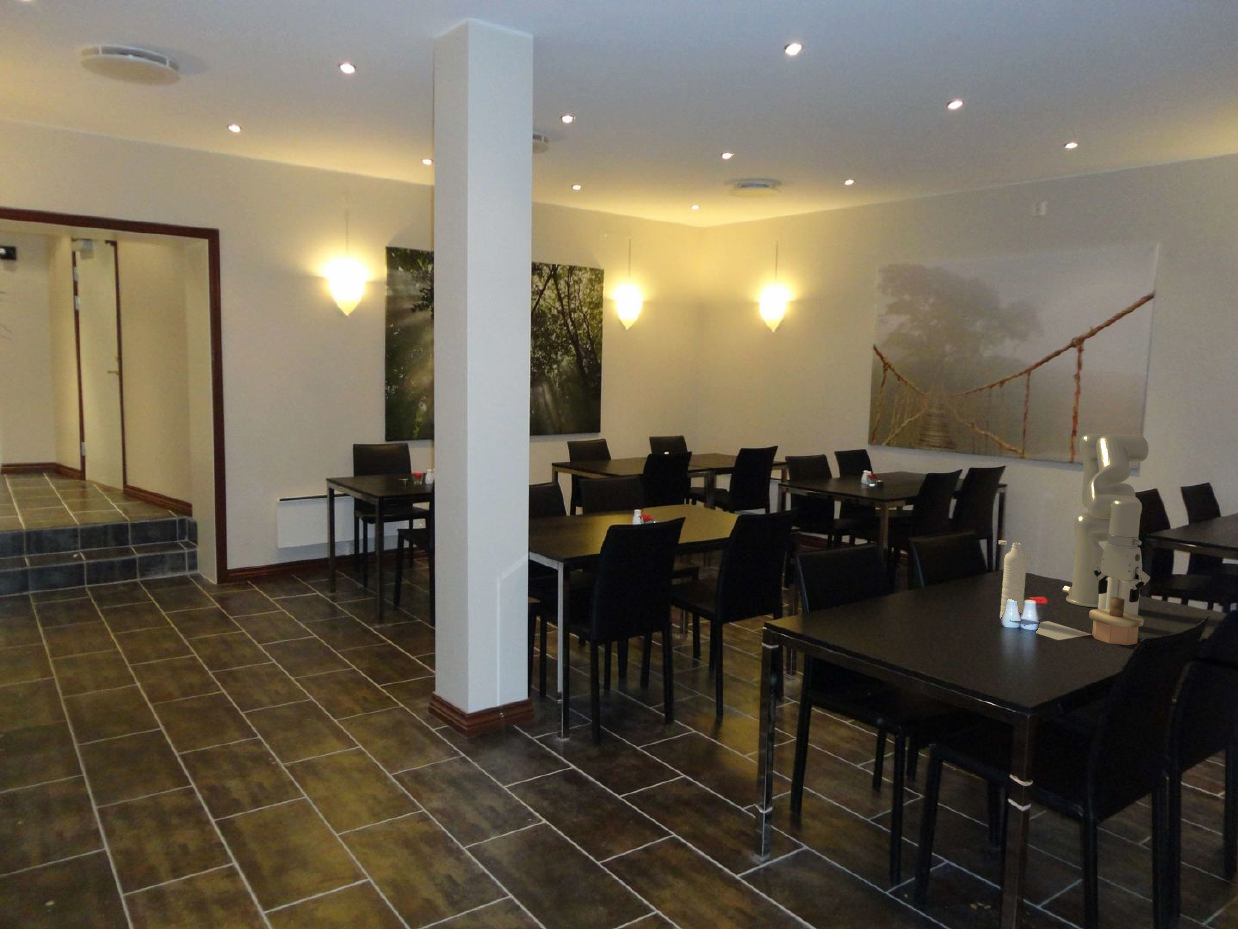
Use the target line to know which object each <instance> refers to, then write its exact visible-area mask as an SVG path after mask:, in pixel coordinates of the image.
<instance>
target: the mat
mask: <svg viewBox="0 0 1238 929" xmlns="http://www.w3.org/2000/svg"><path fill="white" fill-rule="evenodd" d="M1035 634H1037V635H1040V636H1045V637H1047V638H1050V639H1053V640H1056V641H1062V640H1069V639H1074V638H1080V637H1086V636H1091V635H1092V633H1088V632H1086V631H1081V630H1078V629H1076V628H1073V627H1069V626H1066V625H1062V624H1059V623H1055V622H1052V621H1049V620H1047V621H1046V620H1045V621H1040V624H1039V628H1038V630H1037V631H1036V633H1035ZM1092 636H1093V635H1092Z"/></svg>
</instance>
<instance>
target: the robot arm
mask: <svg viewBox="0 0 1238 929" xmlns="http://www.w3.org/2000/svg"><path fill="white" fill-rule="evenodd" d="M1079 454H1080V458H1081V460H1082V464H1083V480H1082V489H1081V490H1082V491H1081V502H1082V505H1083V506H1084V507H1085V508H1086V509H1087V512H1082V513H1079V514H1078V515H1077V516H1076V517H1075V519H1074V524H1073V525H1074V536H1075V542H1074V543H1075V545H1074V547H1075V548H1074V560H1073V573H1072V586H1068V585H1064V587H1063V588H1062V592H1064V593H1068V595H1067V596H1066V598H1065V599H1066V600H1065V601H1066V602H1068V603H1070V604H1073V605H1077V606H1082V607H1090V608H1098V602H1099V594H1104V593H1107V586H1108V580H1106V579H1107V578H1108V577H1111V578H1115V579H1119V580H1123V581H1128V582H1129V583H1130V585H1131V587H1132V589H1130V596H1129V602H1131V603H1133V602H1137V601H1138V599H1139V600H1140V594H1139V592H1141V591H1140V590H1141V589H1143V587H1145V586H1146V585H1147V583H1148V582H1149V581H1150V579H1151V576H1149V575H1148V574H1147V573H1146V572H1144V571H1143V563H1142V562H1143V559H1142V551H1141V548H1140V547H1138V546H1141V545H1142V541H1141V540H1140V539H1139V535H1140V523H1141V522H1140V520H1141V515H1142V511H1143V506H1142V505H1143V504H1142V502H1141V501H1140V499H1139V498H1138V497H1136V491H1135V489H1134V487H1133V485H1131V484H1129V483H1123V482H1125V481H1126V480H1128V479H1129V477H1130V476H1131V466H1130V462H1138V463H1139V462H1140V463H1142V462H1144V461H1145V460H1147V457H1148V456H1149V443H1148V441H1147V439H1146V437H1144V436H1143V435H1141V434H1139V435H1138V434H1121V433H1118V434H1117V433H1098V432H1097V433H1095V432H1093V433H1086V434H1084V435H1082V436H1081V438H1080V440H1079ZM1099 542H1107V543H1106V544H1105V546H1104V548H1103V546H1101V545H1100V543H1099ZM1140 579H1141V582H1139V580H1140Z"/></svg>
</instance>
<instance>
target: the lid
mask: <svg viewBox="0 0 1238 929" xmlns="http://www.w3.org/2000/svg"><path fill="white" fill-rule="evenodd" d="M1124 602H1125V600H1124V599H1122V598H1116V597H1112V598H1111V601H1110V609H1098V608H1095V609H1091V610H1090V611H1089V613H1088V615H1089V616H1088V617H1089V619H1091V620H1092V621H1096V622H1100V623H1103V624H1107V625H1113V626H1120V627H1138V628H1140V627H1143V625H1144V621H1145V620H1144V617H1142V616H1141V615H1139V614H1138V615H1136V614H1133V613H1129V612H1125V611H1124Z"/></svg>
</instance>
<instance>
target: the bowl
mask: <svg viewBox="0 0 1238 929" xmlns="http://www.w3.org/2000/svg"><path fill="white" fill-rule="evenodd" d="M1092 621H1093V623H1092V633H1091V634H1092V636H1093V638H1094V640H1098V641H1101V642H1104V643H1107V644H1112V645H1113V644H1114V645H1123V646H1130V645H1135V644H1138V635H1139V627H1120V626H1113V625H1107V624H1103V623H1100V622H1096V621H1094V620H1092Z"/></svg>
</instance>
